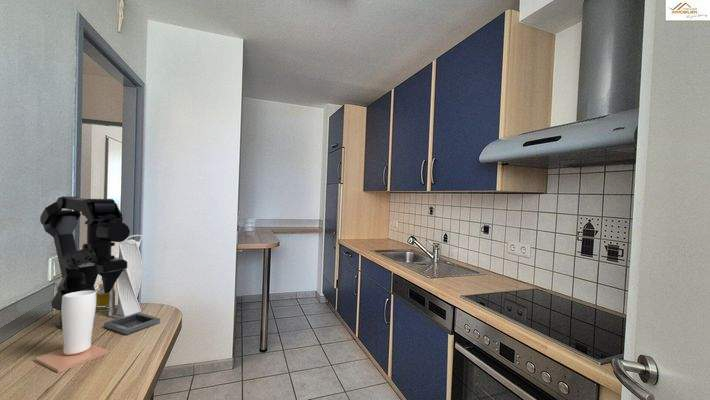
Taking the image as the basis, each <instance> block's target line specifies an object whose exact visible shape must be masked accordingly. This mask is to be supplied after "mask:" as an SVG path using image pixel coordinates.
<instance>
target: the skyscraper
mask: <svg viewBox="0 0 710 400" xmlns="http://www.w3.org/2000/svg"><path fill="white" fill-rule="evenodd" d="M133 237H140V239H139V241H137V240H135V239H130V238H133ZM143 237H144V235H142V234H133V235H129V236H128V237H127V239H125V240H124V241H121V242H118V247H119V254H118V259H124V260H126V261H127V268H126V269H125V270H124V271H122V273H121V274H120V276H119V277H118V279H117V281H116V282H115V284H116V291H117V295H118V299H119V304H118V306H117V310H116V291H115V292H114V288H115V285H114V286H113V287H112V289H111V292H110V305H109V311H108V314H107V316H106V317H108V318H112V319H118V318H121V317H125V316H128V315H131V314H134V313H137V312H139V313H142V310H141V306H140V303H139V301H138V299H137V298H138V295H139V291H140V288H141V285H142V279H143V261H142V255H141V252H140V249H139V248H140V245H141V242H142V240H143Z"/></svg>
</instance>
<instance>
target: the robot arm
mask: <svg viewBox="0 0 710 400" xmlns="http://www.w3.org/2000/svg"><path fill="white" fill-rule="evenodd" d="M81 215H82V216H84V217H85V218H86V221H85V222H84V224H85V225H87V226H86V243H83V244H82V248H81V249H79V250H78V249H77V245H76V241H75V236H74V232H75V229H76V227H77V225H78V221H79V219H80V218H81ZM123 220H124V218H123V214H122V212H121V210H120V208H119V206H118V204H117V202H116V201H115V200H114V199H113V198H82V197H80V196H79V197H78V196H65V195H64V196H60V197H58V198H57V200H56V201H55V202H53V203H51V204H49V205H48V206H46V207H45V208H44V209H43V211H42V213H41V215H40V220H39V221H40V224H41V225H42V227H43V229H44V232H46V233H47V234H49V236H50V237H53V238H52V239H53V242H54V247H55V251H56V256H57V260H58V265H59V268H60V275H61V280H60V281H59V284H58V286H57V288H56V289H57V292H56V294H55V295H54V296H53V299H51V307H52V309H54V310H57V311H60V314H59V318H60V319H59V320H60V321H59V322H58V323H55V324H54V327H56V328H59V329H62V316H61V305H62V296H63V295H65V294H68V293H73V292H79V291H90V290H91V291H96V288H95V284H96V282H97V280H98V279H97V278H98V276H101V278H102V283H103V287H104V293H109V292H110V291H111V289H112V287H113V286H114V287H115V284H116V281H117V279H118V277H119V276H120V274H121V273H122V271H124V270H125V269H126V268H127V261H126V260H124V259H118V258H116V257H115V255H112V247H114V246H115V245H116V243H120V242H123V241H124V240H125V239H127V237H129V236H130V234H131V232H130V231H131V229H130V228H129V226H128V225H127V224H126V223H125V222H123ZM127 240H128V239H127Z"/></svg>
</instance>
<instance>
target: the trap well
mask: <svg viewBox="0 0 710 400" xmlns="http://www.w3.org/2000/svg"><path fill="white" fill-rule="evenodd" d="M159 324H161V318H159V317H157V316H154V315H148V314H145V313H142V312H141V313H139V312H137V313H134V314H131V315H128V316H125V317H121V318H118V319H116V318H114V319H113V320H109V321H106V322H104V323H103V328H104V329H107V330H109V331H111V332H115V333H118V334H121V335H124V336H129V335H132V334H134V333H137V332H140V331H143V330H145V329H149V328H151V327H154V326H156V325H159Z"/></svg>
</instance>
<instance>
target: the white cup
mask: <svg viewBox="0 0 710 400" xmlns="http://www.w3.org/2000/svg"><path fill="white" fill-rule="evenodd" d="M96 294H97V291H96V290H95V291H91V290H90V291H79V292H73V293H68V294H65V295H63V296H62V305H61V316H62V328H61V330H62V340H63V348H62V349H63V352H64V354H66V355H73V354H78V353H81V352H84V351H86V350H88V349H89V348H90V347H91V344H92V336H93V331H94V330H93V329H94V322H95V315H96V311H97V310H96Z"/></svg>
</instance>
